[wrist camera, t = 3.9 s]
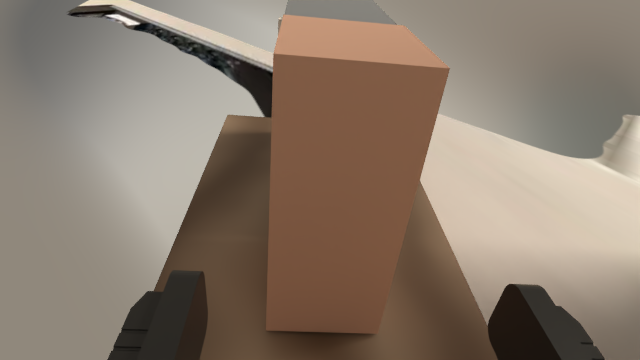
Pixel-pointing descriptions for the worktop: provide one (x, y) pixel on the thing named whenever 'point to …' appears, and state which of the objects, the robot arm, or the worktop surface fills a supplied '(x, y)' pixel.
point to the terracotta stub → (344, 167)
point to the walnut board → (252, 265)
